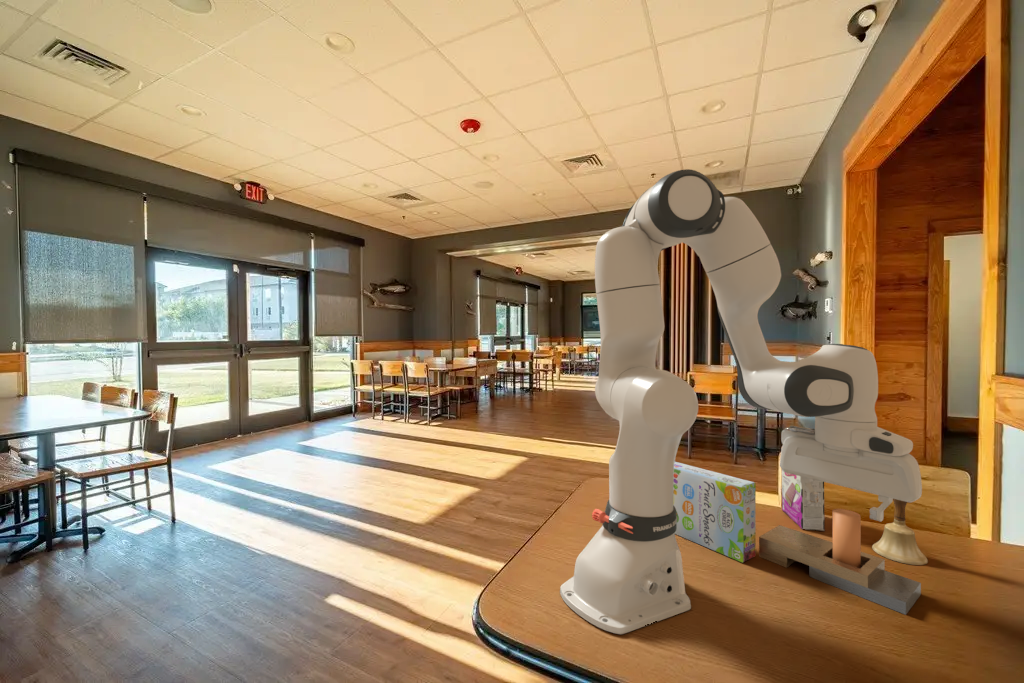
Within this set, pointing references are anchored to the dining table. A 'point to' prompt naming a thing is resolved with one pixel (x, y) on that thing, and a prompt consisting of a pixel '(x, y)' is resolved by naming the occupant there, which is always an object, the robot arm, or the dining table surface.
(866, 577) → the chain end upper
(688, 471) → the snack box
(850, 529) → the pin
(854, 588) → the chain end lower
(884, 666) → the dining table surface
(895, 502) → the hand bell
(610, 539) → the robot arm
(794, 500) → the candy bar box
